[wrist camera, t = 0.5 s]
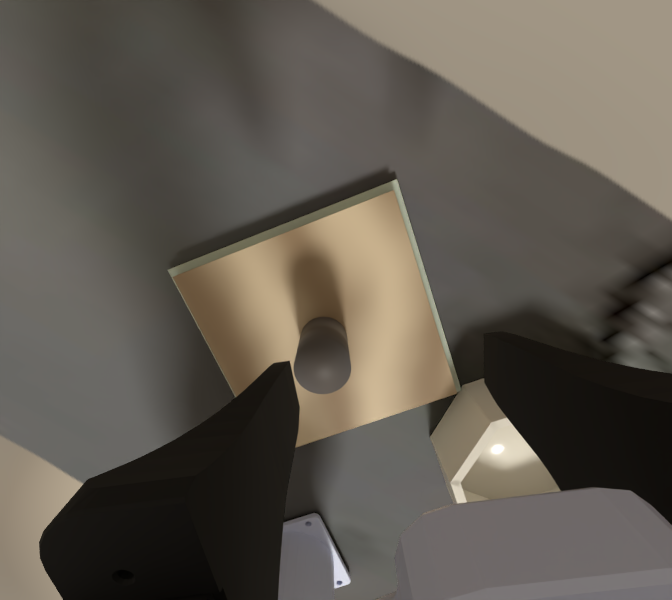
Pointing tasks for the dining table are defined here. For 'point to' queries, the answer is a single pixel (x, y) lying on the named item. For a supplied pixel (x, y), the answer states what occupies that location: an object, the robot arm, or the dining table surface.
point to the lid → (327, 318)
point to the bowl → (485, 451)
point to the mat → (313, 217)
